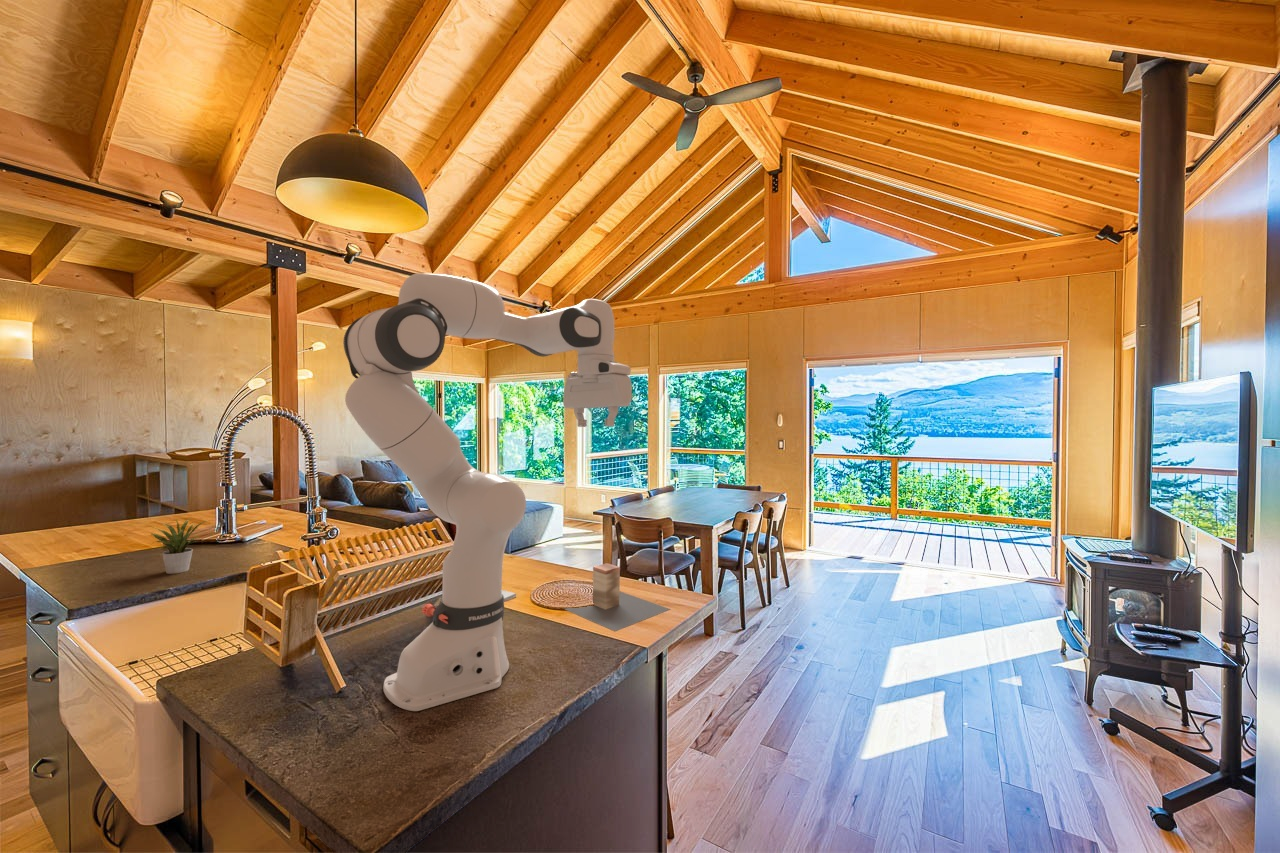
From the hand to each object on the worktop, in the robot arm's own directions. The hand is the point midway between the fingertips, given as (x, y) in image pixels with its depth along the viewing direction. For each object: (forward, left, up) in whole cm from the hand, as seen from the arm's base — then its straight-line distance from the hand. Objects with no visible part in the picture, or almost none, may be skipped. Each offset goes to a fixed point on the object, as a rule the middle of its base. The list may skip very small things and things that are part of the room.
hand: (595, 426), depth 122 cm
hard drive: (-9, +32, -49) cm, 59 cm away
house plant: (-64, +121, -48) cm, 145 cm away
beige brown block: (+11, +7, -47) cm, 49 cm away
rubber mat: (+11, +2, -48) cm, 49 cm away
